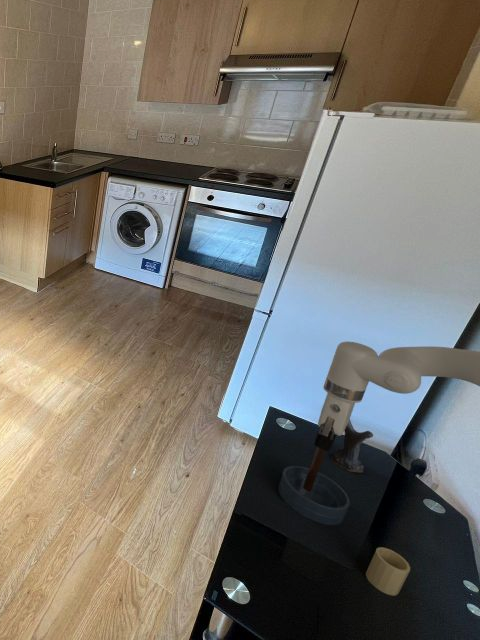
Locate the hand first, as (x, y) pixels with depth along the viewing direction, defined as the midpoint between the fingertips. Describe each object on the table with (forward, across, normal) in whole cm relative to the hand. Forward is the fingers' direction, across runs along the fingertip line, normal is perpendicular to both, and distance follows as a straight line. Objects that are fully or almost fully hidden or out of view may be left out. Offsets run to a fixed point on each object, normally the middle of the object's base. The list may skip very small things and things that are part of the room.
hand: (322, 445), depth 109 cm
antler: (+18, +25, -3) cm, 31 cm away
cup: (+18, -15, -18) cm, 29 cm away
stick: (+15, 0, 0) cm, 15 cm away
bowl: (+18, -2, -2) cm, 18 cm away
